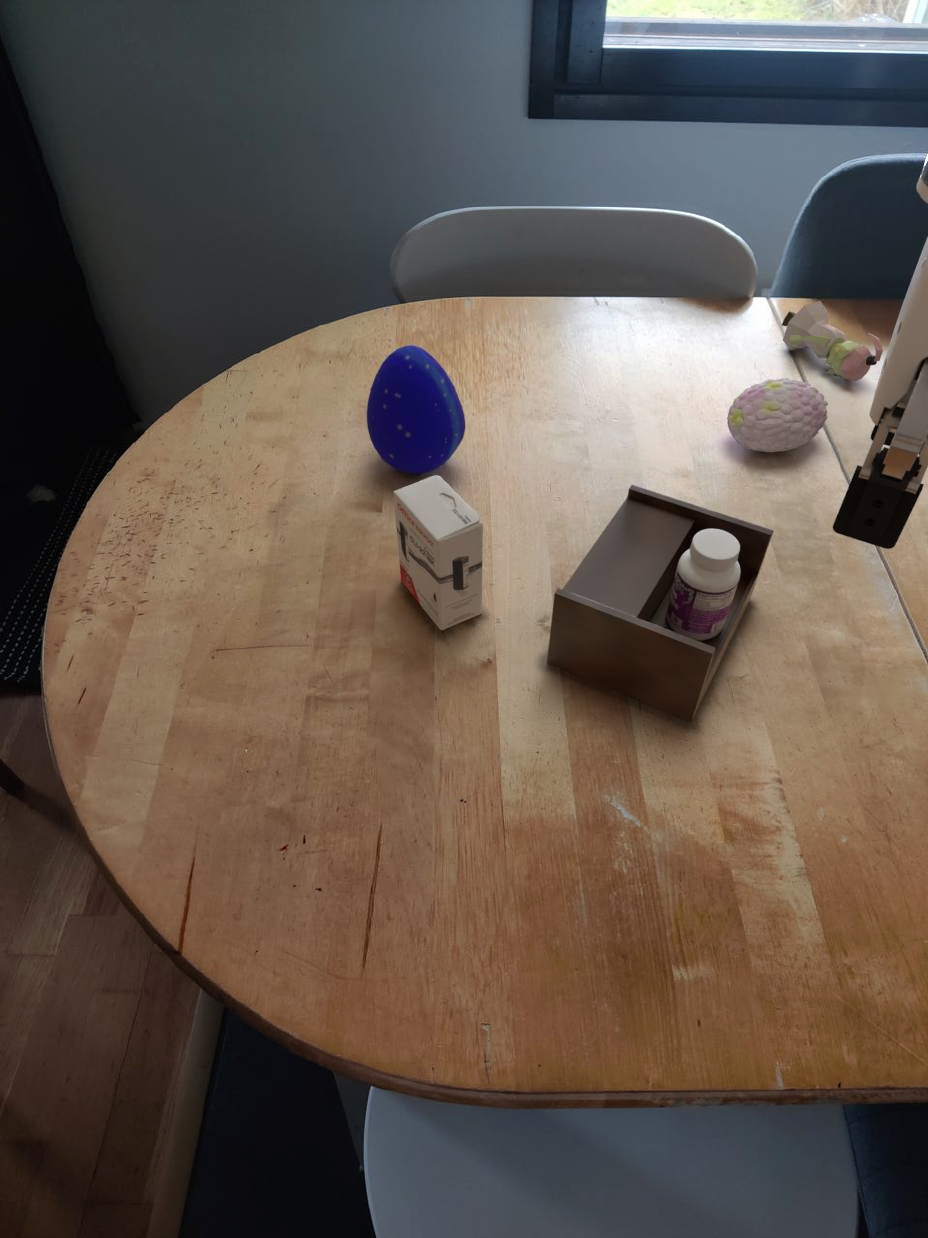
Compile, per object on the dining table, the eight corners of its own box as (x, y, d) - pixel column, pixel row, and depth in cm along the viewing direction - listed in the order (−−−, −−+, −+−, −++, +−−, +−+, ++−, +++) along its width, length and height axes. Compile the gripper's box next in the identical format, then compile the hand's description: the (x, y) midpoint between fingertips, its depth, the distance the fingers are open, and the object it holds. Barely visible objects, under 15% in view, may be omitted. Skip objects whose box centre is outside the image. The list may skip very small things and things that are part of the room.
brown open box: (750, 599, 85) (773, 530, 79) (691, 722, 75) (713, 654, 68) (619, 553, 90) (631, 484, 84) (546, 662, 80) (554, 593, 73)
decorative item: (853, 406, 101) (816, 352, 95) (800, 484, 101) (760, 435, 95) (792, 397, 108) (755, 346, 103) (743, 469, 108) (703, 423, 103)
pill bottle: (659, 602, 81) (677, 523, 74) (714, 600, 81) (737, 520, 74) (672, 644, 77) (693, 565, 70) (730, 642, 77) (757, 562, 70)
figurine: (759, 337, 119) (833, 393, 110) (789, 286, 115) (869, 341, 106) (797, 344, 124) (871, 399, 115) (827, 296, 120) (907, 349, 111)
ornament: (475, 461, 101) (477, 344, 91) (430, 501, 96) (426, 382, 85) (401, 431, 106) (394, 316, 95) (353, 468, 100) (341, 350, 90)
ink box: (398, 580, 87) (391, 487, 79) (440, 564, 89) (438, 470, 80) (440, 633, 82) (437, 539, 74) (483, 614, 84) (486, 520, 75)
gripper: (1116, 258, 30) (924, 606, 42) (1129, 122, 40) (972, 432, 52) (891, 216, 32) (772, 555, 45) (958, 98, 43) (847, 399, 55)
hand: (880, 489), depth 48 cm, fingers open, 9 cm apart
